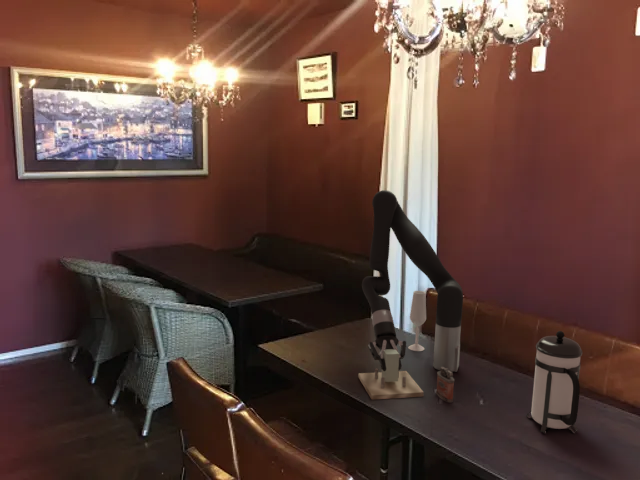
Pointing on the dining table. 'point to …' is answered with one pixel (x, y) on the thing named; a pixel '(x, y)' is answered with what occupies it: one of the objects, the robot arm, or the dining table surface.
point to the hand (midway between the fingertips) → (391, 369)
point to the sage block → (391, 365)
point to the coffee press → (556, 382)
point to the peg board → (390, 386)
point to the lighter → (445, 384)
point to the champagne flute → (418, 316)
